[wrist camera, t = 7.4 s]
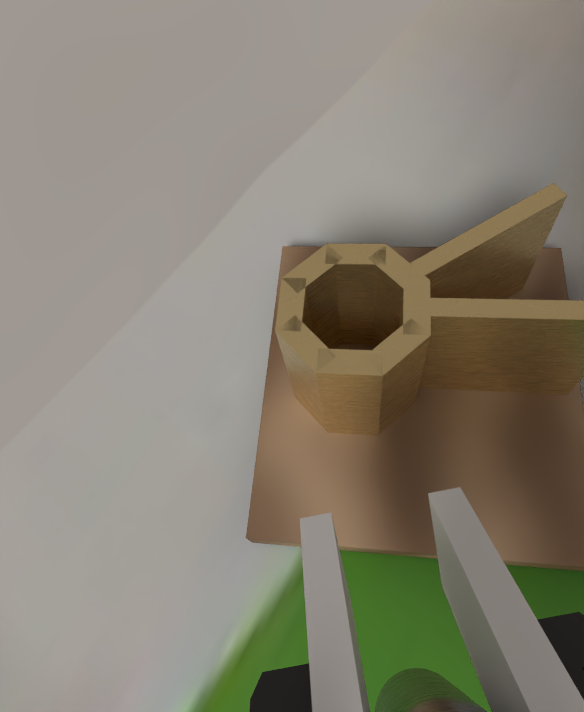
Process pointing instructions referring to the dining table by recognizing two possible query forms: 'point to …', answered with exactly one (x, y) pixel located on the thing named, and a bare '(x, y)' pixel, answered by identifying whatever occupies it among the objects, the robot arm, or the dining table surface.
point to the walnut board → (428, 459)
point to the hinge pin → (422, 694)
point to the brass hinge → (427, 322)
